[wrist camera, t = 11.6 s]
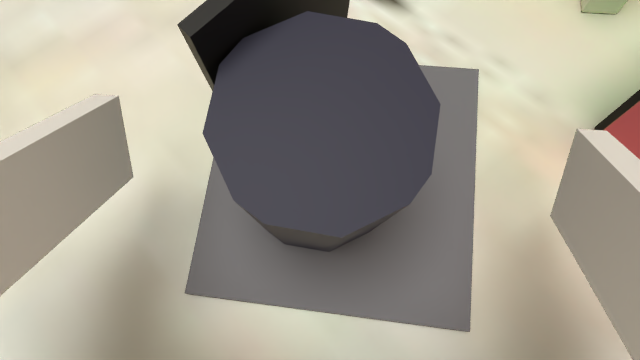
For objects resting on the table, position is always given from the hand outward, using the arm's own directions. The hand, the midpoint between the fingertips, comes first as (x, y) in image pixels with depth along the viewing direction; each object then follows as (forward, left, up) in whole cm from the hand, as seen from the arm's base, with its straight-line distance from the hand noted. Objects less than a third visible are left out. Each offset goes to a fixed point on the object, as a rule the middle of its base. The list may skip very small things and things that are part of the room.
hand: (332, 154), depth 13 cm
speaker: (-1, +1, -6) cm, 6 cm away
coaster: (-1, +1, -6) cm, 6 cm away
